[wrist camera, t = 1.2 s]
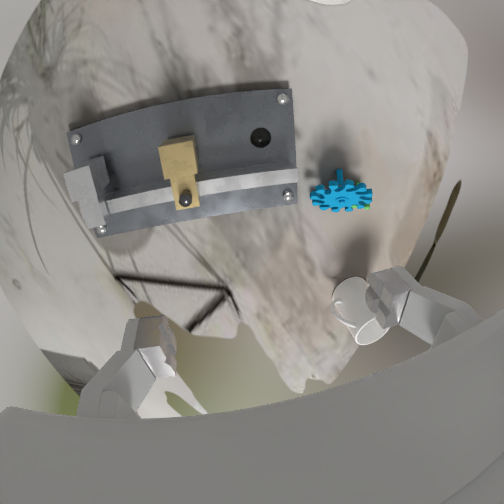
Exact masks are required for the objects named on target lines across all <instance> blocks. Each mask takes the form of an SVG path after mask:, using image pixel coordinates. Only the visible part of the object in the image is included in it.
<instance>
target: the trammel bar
mask: <svg viewBox="0 0 504 504" xmlns="http://www.w3.org/2000/svg"><path fill="white" fill-rule="evenodd" d="M63 175H64V178H65V182H66V185H67V189H68V192H69V195H70V198H71V202H75V201H78V202H79V206H80V211H81V214H82V217H83V220H85V223H86V226H87V229H90V228H94V227H99V226H103V225H106V224H107V222H108V221H109V219H110V217H109V214H112V213H117V212H121V211H126V210H130V209H135V208H139V207H144V206H149V205H154V204H159V203H164V202H169V201H174V197H173V192H172V187H171V182H170V179H167V180H162V181H157V182H152V183H147V184H143V185H138V186H134V187H130V188H126V189H121V190H117V191H113V192H109V193H105V194H102V190H103V189H104V188H105V187H106V185H107V184H108V183H109V182H110V180H109V176H108V172H107V168H106V164H105V160H104V156H100V157H97V158H93V159H90V160H87V161H84V162H81V163H79V164H77V165H76V166H74V167H73V168H71V169H70V170H68V171H67V172H65V173H64V174H63ZM195 175H196V181H197V187H198V192H199V196H203V195H208V194H215V193H221V192H227V191H234V190H241V189H248V188H255V187H262V186H270V185H278V184H286V183H295V182H298V168H297V167H296V166H294V165H293V164H292V163H291V162H290V161H289V162H279V163H270V164H261V165H253V166H245V167H238V168H231V169H224V170H217V171H211V172H205V173H199V174H195Z"/></svg>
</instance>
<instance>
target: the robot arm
mask: <svg viewBox="0 0 504 504" xmlns="http://www.w3.org/2000/svg"><path fill="white" fill-rule="evenodd" d="M311 1H314V2H317V3H321V4H328V5H338V4H344V3H347V2H349V1H351V0H311ZM368 283H369V285H370V286H369V287H368V288H367V290H366V294H365V299H366V304H367V306H368V308H369V310H370V311H371V312H373V313H375V314H376V320H377V322H378V323H379V325H380V326H381V327H382V329H386V328H389V327H392V326H395V325H398V324H399V325H400V326H402V327H403V328H405V329H407V330H408V331H410V332H411V333H413V334H415V335H416V336H418V337H420V338H421V339H423V340H424V341H426V342H428V343H429V344H431V347H430V349H429V350H428V351H426V352H424V353H421V354H419V355H417V356H415V357H413V358H411V359H408V360H406V361H404V362H401V363H399V364H397V365H395V366H392V367H389V368H387V369H385V370H382V371H380V372H377V373H374V374H372V375H369V376H366V377H363V378H361V379H358V380H355V381H352V382H349V383H346V384H343V385H340V386H337V387H333V388H330V389H327V390H324V391H320V392H317V393H313V394H309V395H306V396H302V397H298V398H294V399H290V400H286V401H281V402H277V403H272V404H267V405H262V406H258V407H252V408H247V409H240V410H235V411H228V412H221V413H213V414H205V415H196V416H185V417H171V418H150V419H141V418H140V417H139V416H138V415H137V414H136V411H137V410H138V408H139V406H140V405H141V403H142V401H143V400H144V398H145V397H146V395H147V393H148V392H149V390H150V388H151V387H152V385H153V384H154V382H155V380H156V379H155V378H163V377H171V376H176V360H175V358H174V356H175V355H176V353H177V345H176V339H175V336H174V333H173V331H172V330H171V329H170V328H168V327H169V322H168V319H167V317H166V316H165V315H161V316H153V317H144V318H137V319H129V320H128V321H127V324H126V328H125V332H124V337H123V341H122V346H121V350H120V351H117V352H116V353H115V354H114V355H113V356H112V357H111V358H110V359H109V361H108V362H107V363H106V364H105V365H104V366H103V367H102V368H101V369H100V370H99V371H98V373H97V374H96V375H95V376H94V377H93V378H92V379H91V380H90V381H89V382H88V384H87V385H86V386H85V387H84V388H83V389H82V392H81V396H80V401H79V406H78V410H77V415H76V416H68V415H59V414H51V413H45V412H38V411H32V410H27V409H22V408H18V407H7V408H6V409H5V410H3V411H2V412H1V413H0V504H504V307H503V308H501V309H500V310H498V311H497V312H495V313H494V314H492V315H491V316H489V317H487V318H486V319H484V320H482V319H481V318H480V317H479V316H478V315H477V313H476V312H475V311H474V310H473V309H472V308H471V307H470V306H469V305H468V304H467V303H465V302H463V301H460V300H458V299H455V298H453V297H450V296H448V295H445V294H443V293H440V292H438V291H435V290H433V289H430V288H428V287H425V286H424V287H421V285H420V284H419V283H418V282H417V281H416V280H415V279H414V278H413V277H412V276H411V275H410V274H409V273H408V272H407V271H406V270H405V269H404V268H403V267H402V266H396V267H393V268H390V269H386V270H383V271H379V272H375V273H371V274H370V275H369V277H368Z"/></svg>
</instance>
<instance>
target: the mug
mask: <svg viewBox="0 0 504 504" xmlns="http://www.w3.org/2000/svg"><path fill="white" fill-rule="evenodd" d="M367 288H368V286H367V283H366V281H365V280H364V279H363V278H361V277H351V278H348V279H346V280H344V281H343V282H341V283H340V284H339V285H338V286H337V287H336V289H335V290H334V292H333V295H332V301H333V302H332V304H331V310H332V313H333V314H334V316H335V317H336V318H337V319H338V320H339V321H340V322H342V323H343V324H345V325H347V326H348V328H349V330H350V332H351V333H352V335H353V337H354V339H355V341H356V342H357V343H358V344H360V345H366V344H370V343H373V342H375V341H377V340H378V339H380V338H381V337H382V336H383V335H384V334H385V333H386V332H387V331H388V330H389V328H390V327H389V328H386V329H382V327H381V326H380V325H379V323H378V322H377V320H376V314H375V313H373V312H371V311H370V310H369V308H368V306H367V304H366V299H365V294H366V290H367ZM334 305H335V306H336V307H337V308H338V310H339V312H340V314H341V315H342V317H343V318H342V317H341V316H340V315H339V314H338V313H337V312H336V311H335V309H334Z"/></svg>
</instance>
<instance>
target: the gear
mask: <svg viewBox="0 0 504 504" xmlns="http://www.w3.org/2000/svg"><path fill="white" fill-rule="evenodd" d="M336 173H337V181H329V188H330V189H329V190H325V189H324V185H318V186H316V191H312V192H311V193H310V199H312V204H313V206H317V205H320V209H322V210H326V209H328V208H331V209H332V211H333V212H339V210H340V209H341V208H343V207H345V211H353V209H352V208H356V207H357V208H358V209H361V208H364V209H370V203H371V202H372V189H366V185H365V184H364V183H360V182H356V186H354V181H352V180H348V179H347V180H345V183H344V181H343V172H342V169H337V170H336ZM319 193H320V194H319Z"/></svg>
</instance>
